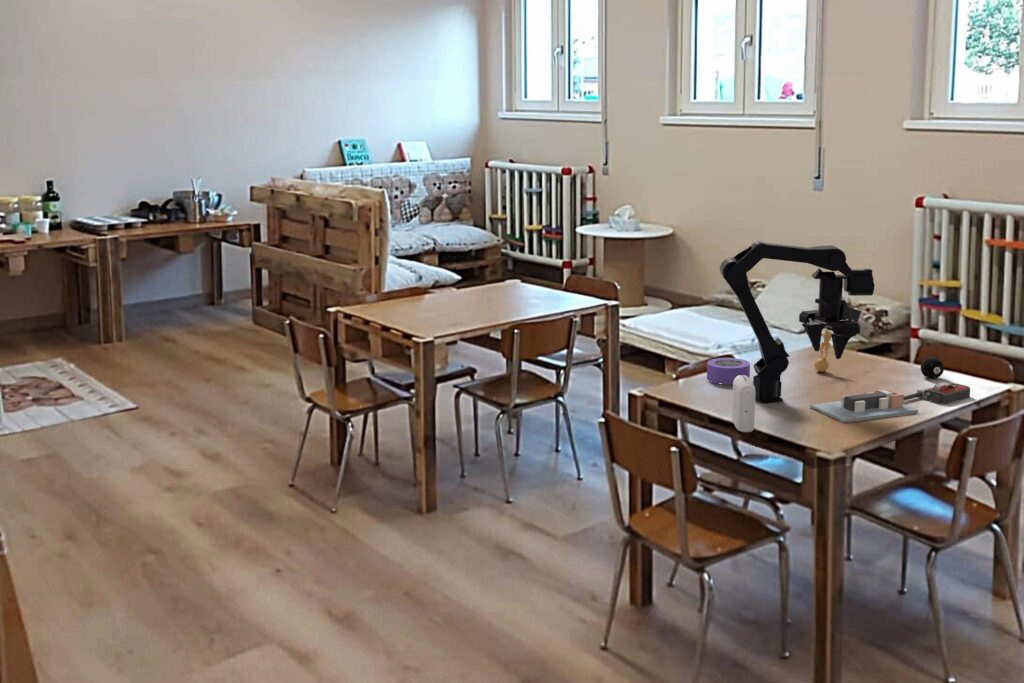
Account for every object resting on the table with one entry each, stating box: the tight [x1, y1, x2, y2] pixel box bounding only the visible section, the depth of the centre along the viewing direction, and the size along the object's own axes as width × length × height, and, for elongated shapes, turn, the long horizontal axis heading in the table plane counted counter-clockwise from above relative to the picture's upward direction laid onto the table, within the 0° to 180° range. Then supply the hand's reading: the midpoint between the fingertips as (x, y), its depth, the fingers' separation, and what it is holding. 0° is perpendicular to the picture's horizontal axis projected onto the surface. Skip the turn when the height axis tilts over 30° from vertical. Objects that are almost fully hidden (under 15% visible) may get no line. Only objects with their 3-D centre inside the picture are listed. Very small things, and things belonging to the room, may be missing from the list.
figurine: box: [813, 329, 833, 373], centre depth 323 cm, size 8×6×12 cm
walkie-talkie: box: [903, 381, 971, 405], centre depth 295 cm, size 9×4×20 cm
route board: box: [809, 391, 919, 424], centre depth 285 cm, size 22×14×3 cm, turn 110°
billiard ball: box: [920, 356, 945, 380], centre depth 315 cm, size 6×6×6 cm
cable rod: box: [844, 390, 893, 411], centre depth 286 cm, size 12×3×3 cm, turn 110°
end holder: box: [874, 387, 905, 408], centre depth 288 cm, size 3×7×3 cm, turn 20°
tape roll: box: [706, 357, 751, 385], centre depth 316 cm, size 12×12×5 cm
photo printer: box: [731, 375, 756, 433], centre depth 273 cm, size 10×4×12 cm, turn 179°
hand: (827, 354), depth 293 cm, fingers open, 9 cm apart
